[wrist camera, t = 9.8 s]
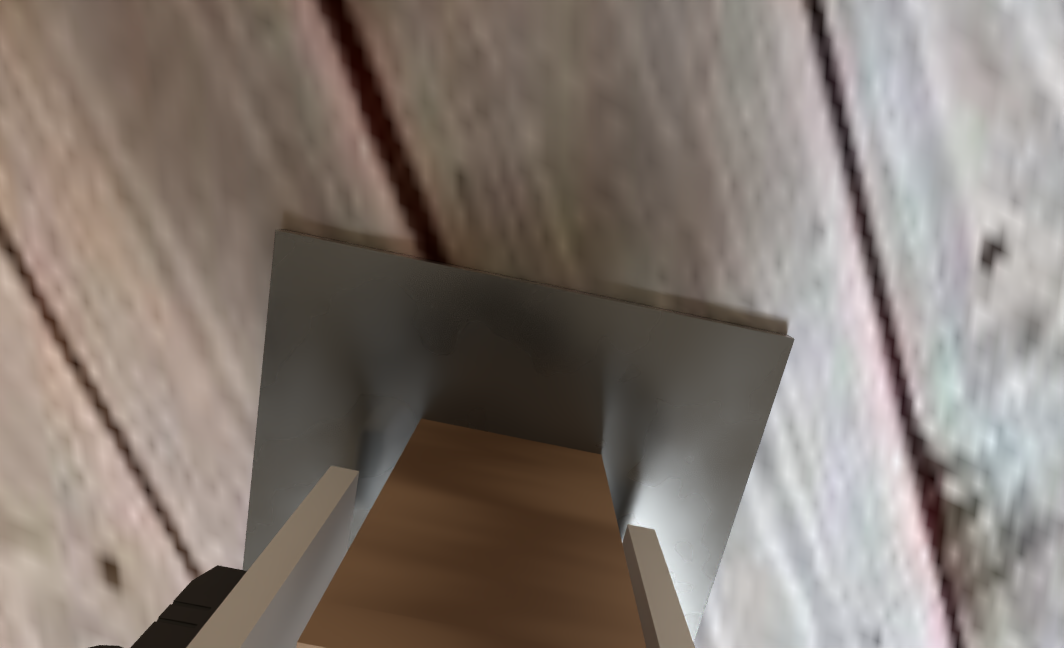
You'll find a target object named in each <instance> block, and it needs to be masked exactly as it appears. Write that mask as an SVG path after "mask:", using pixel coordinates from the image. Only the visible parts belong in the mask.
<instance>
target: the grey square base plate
mask: <svg viewBox="0 0 1064 648" xmlns="http://www.w3.org/2000/svg"><path fill="white" fill-rule="evenodd" d="M793 342H794V338H792V337H790V336H788V335H785V334H780V333H775V332H770V331H766V330H761V329H756V328H751V327H747V326H742V325H737V324H732V323H728V322H723V321H718V320H713V319H708V318H704V317H699V316H694V315H689V314H685V313H680V312H675V311H670V310H666V309H661V308H656V307H651V306H646V305H642V304H637V303H632V302H627V301H623V300H618V299H613V298H608V297H604V296H599V295H594V294H589V293H585V292H580V291H575V290H570V289H565V288H561V287H556V286H551V285H546V284H542V283H537V282H532V281H527V280H523V279H518V278H513V277H508V276H503V275H499V274H494V273H489V272H484V271H480V270H475V269H470V268H465V267H461V266H456V265H451V264H446V263H441V262H437V261H432V260H427V259H422V258H418V257H413V256H408V255H403V254H399V253H394V252H389V251H384V250H379V249H375V248H370V247H365V246H360V245H356V244H351V243H346V242H341V241H337V240H332V239H327V238H322V237H317V236H313V235H308V234H303V233H298V232H294V231H289V230H284V229H281V230H276V232H275V242H274V252H273V263H272V273H271V283H270V294H269V304H268V314H267V325H266V335H265V345H264V356H263V366H262V376H261V387H260V397H259V407H258V418H257V428H256V438H255V449H254V459H253V469H252V480H251V490H250V500H249V511H248V521H247V531H246V542H245V552H244V562H243V570H244V571H248V570H249V568H250V567H251V566H252V564H253V563H254V562H255V561H256V559H257V558H258V557H259V556H260V554H261V553H262V552H263V551H264V549H265V548H266V547H267V546H268V544H269V543H270V542H271V541H272V539H273V538H274V537H275V536H276V534H277V533H278V532H279V531H280V529H281V528H282V527H283V526H284V524H285V523H286V522H287V520H288V519H289V518H290V517H291V515H292V514H293V513H294V512H295V510H296V509H297V508H298V507H299V505H300V504H301V503H302V502H303V500H304V499H305V498H306V497H307V495H308V494H309V493H310V492H311V490H312V489H313V488H314V487H315V485H316V484H317V483H318V482H319V480H320V479H321V478H322V476H323V475H324V474H325V473H326V471H327V470H328V469H329V468H330V466H336V467H341V468H346V469H351V470H356V471H359V476H358V483H357V490H356V497H355V504H354V510H353V517H352V524H351V531H350V537H349V544H348V549H349V548H350V546H351V544H352V542H353V540H354V539H355V537H356V535H357V533H358V531H359V530H360V528H361V526H362V524H363V522H364V521H365V519H366V517H367V515H368V513H369V512H370V510H371V508H372V506H373V504H374V503H375V501H376V499H377V497H378V495H379V494H380V492H381V490H382V488H383V486H384V485H385V483H386V481H387V479H388V477H389V476H390V474H391V472H392V470H393V468H394V467H395V465H396V463H397V461H398V459H399V457H400V456H401V454H402V452H403V450H404V448H405V447H406V445H407V443H408V441H409V439H410V438H411V436H412V434H413V432H414V430H415V429H416V427H417V425H418V423H419V421H420V420H421V419H426V420H431V421H436V422H441V423H446V424H451V425H456V426H461V427H466V428H471V429H476V430H481V431H486V432H491V433H496V434H501V435H506V436H511V437H516V438H521V439H526V440H531V441H536V442H541V443H546V444H551V445H556V446H561V447H566V448H571V449H576V450H581V451H586V452H591V453H596V454H601V455H602V459H603V463H604V467H605V472H606V476H607V480H608V485H609V489H610V493H611V497H612V502H613V506H614V510H615V515H616V519H617V523H618V528H619V532H620V536H621V540H622V542H623V538H624V535H625V531H626V528H627V524H630V525H635V526H640V527H645V528H650V529H655V532H656V535H657V538H658V541H659V544H660V546H661V549H662V552H663V555H664V558H665V561H666V564H667V567H668V570H669V573H670V576H671V579H672V582H673V585H674V587H675V590H676V593H677V596H678V599H679V602H680V605H681V608H682V611H683V614H684V617H685V620H686V623H687V626H688V628H689V631H690V634H691V637H692V640H693V643H694V640H695V637H696V634H697V631H698V628H699V625H700V622H701V619H702V616H703V613H704V610H705V607H706V604H707V601H708V597H709V594H710V591H711V588H712V585H713V582H714V579H715V576H716V573H717V570H718V567H719V564H720V561H721V558H722V555H723V552H724V549H725V546H726V543H727V540H728V537H729V534H730V531H731V528H732V525H733V522H734V519H735V516H736V513H737V510H738V507H739V504H740V501H741V498H742V495H743V492H744V489H745V486H746V483H747V480H748V477H749V474H750V471H751V468H752V465H753V462H754V459H755V456H756V453H757V450H758V447H759V444H760V441H761V438H762V435H763V432H764V429H765V426H766V423H767V420H768V417H769V414H770V411H771V408H772V405H773V402H774V399H775V396H776V393H777V390H778V387H779V384H780V381H781V378H782V375H783V372H784V369H785V366H786V363H787V360H788V357H789V354H790V351H791V348H792V345H793Z"/></svg>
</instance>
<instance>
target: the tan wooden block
mask: <svg viewBox="0 0 1064 648" xmlns="http://www.w3.org/2000/svg"><path fill="white" fill-rule="evenodd" d="M296 648H646V644H645V639H644V635H643V631H642V626H641V622H640V618H639V614H638V609H637V605H636V601H635V596H634V592H633V588H632V583H631V579H630V575H629V571H628V566H627V562H626V558H625V553H624V549H623V545H622V540H621V536H620V532H619V528H618V523H617V519H616V515H615V510H614V506H613V502H612V497H611V493H610V489H609V485H608V480H607V476H606V472H605V467H604V463H603V459H602V455H601V454H596V453H591V452H586V451H581V450H576V449H571V448H566V447H561V446H556V445H551V444H546V443H541V442H536V441H531V440H526V439H521V438H516V437H511V436H506V435H501V434H496V433H491V432H486V431H481V430H476V429H471V428H466V427H461V426H456V425H451V424H446V423H441V422H436V421H431V420H426V419H421V420H420V421H419V423H418V425H417V427H416V429H415V430H414V432H413V434H412V436H411V438H410V439H409V441H408V443H407V445H406V447H405V448H404V450H403V452H402V454H401V456H400V457H399V459H398V461H397V463H396V465H395V467H394V468H393V470H392V472H391V474H390V476H389V477H388V479H387V481H386V483H385V485H384V486H383V488H382V490H381V492H380V494H379V495H378V497H377V499H376V501H375V503H374V504H373V506H372V508H371V510H370V512H369V513H368V515H367V517H366V519H365V521H364V522H363V524H362V526H361V528H360V530H359V531H358V533H357V535H356V537H355V539H354V540H353V542H352V544H351V546H350V548H349V549H348V551H347V553H346V555H345V557H344V558H343V560H342V562H341V564H340V566H339V567H338V569H337V571H336V573H335V575H334V576H333V578H332V580H331V582H330V584H329V585H328V587H327V589H326V591H325V593H324V594H323V596H322V598H321V600H320V602H319V603H318V605H317V607H316V609H315V611H314V612H313V614H312V616H311V618H310V620H309V621H308V623H307V625H306V627H305V629H304V630H303V632H302V634H301V636H300V638H299V639H298V641H297V646H296Z"/></svg>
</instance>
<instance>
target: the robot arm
mask: <svg viewBox="0 0 1064 648" xmlns="http://www.w3.org/2000/svg"><path fill="white" fill-rule="evenodd" d="M358 476H359V471H356V470H351V469H346V468H341V467H336V466H330V468H329V469H328V470H327V471H326V473H325V474H324V475H323V476H322V478H321V479H320V480H319V482H318V483H317V484H316V485H315V487H314V488H313V489H312V490H311V492H310V493H309V494H308V495H307V497H306V498H305V499H304V500H303V502H302V503H301V504H300V505H299V507H298V508H297V509H296V510H295V512H294V513H293V514H292V515H291V517H290V518H289V519H288V520H287V522H286V523H285V524H284V526H283V527H282V528H281V529H280V531H279V532H278V533H277V534H276V536H275V537H274V538H273V539H272V541H271V542H270V543H269V544H268V546H267V547H266V548H265V549H264V551H263V552H262V553H261V554H260V556H259V557H258V558H257V559H256V561H255V562H254V563H253V564H252V566H251V567H250V568H249V570H248V571H244V570H239V569H233V568H228V567H223V566H218V565H217V566H216V567H214V568H212V569H211V570H209V571H207V572H206V573H204V574H202V575H201V576H199V577H197V578H196V579H194V580H192V581H191V582H190V584H189V585H188V586H187V587H186V588H185V589H184V590H183V591H182V592H181V593H180V594H179V595H178V597H177V598H176V599H175V600H174V602H173V604H172V605H171V604H170V605H169V606H168V607H167V609H166V610H165V611H164V612H163V613H162V614H161V615H160V616H159V617H158V620H157V622H154V623H153V624H152V625H151V626H150V627H149V628H148V629H147V630H146V631H145V632H144V633H143V635H142V636H141V637H140V638H139V639H138V640H137V641H136V642H135V643H134V644H133V645H132V647H131V648H296V646H297V641H298V639H299V638H300V636H301V634H302V632H303V630H304V629H305V627H306V625H307V623H308V621H309V620H310V618H311V616H312V614H313V612H314V611H315V609H316V607H317V605H318V603H319V602H320V600H321V598H322V596H323V594H324V593H325V591H326V589H327V587H328V585H329V584H330V582H331V580H332V578H333V576H334V575H335V573H336V571H337V569H338V567H339V566H340V564H341V562H342V560H343V558H344V557H345V555H346V553H347V551H348V544H349V537H350V531H351V524H352V517H353V510H354V504H355V497H356V490H357V483H358ZM622 545H623V549H624V553H625V558H626V562H627V566H628V571H629V575H630V579H631V583H632V588H633V592H634V596H635V601H636V605H637V609H638V614H639V618H640V622H641V626H642V631H643V635H644V639H645V644H646V648H695V646H694V643H693V640H692V637H691V634H690V631H689V628H688V626H687V623H686V620H685V617H684V614H683V611H682V608H681V605H680V602H679V599H678V596H677V593H676V590H675V587H674V585H673V582H672V579H671V576H670V573H669V570H668V567H667V564H666V561H665V558H664V555H663V552H662V549H661V546H660V544H659V541H658V538H657V535H656V532H655V529H650V528H645V527H640V526H635V525H630V524H627V528H626V531H625V535H624V538H623V542H622ZM90 648H122V647H120V646H108V645H99V646H94V647H90Z"/></svg>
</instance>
